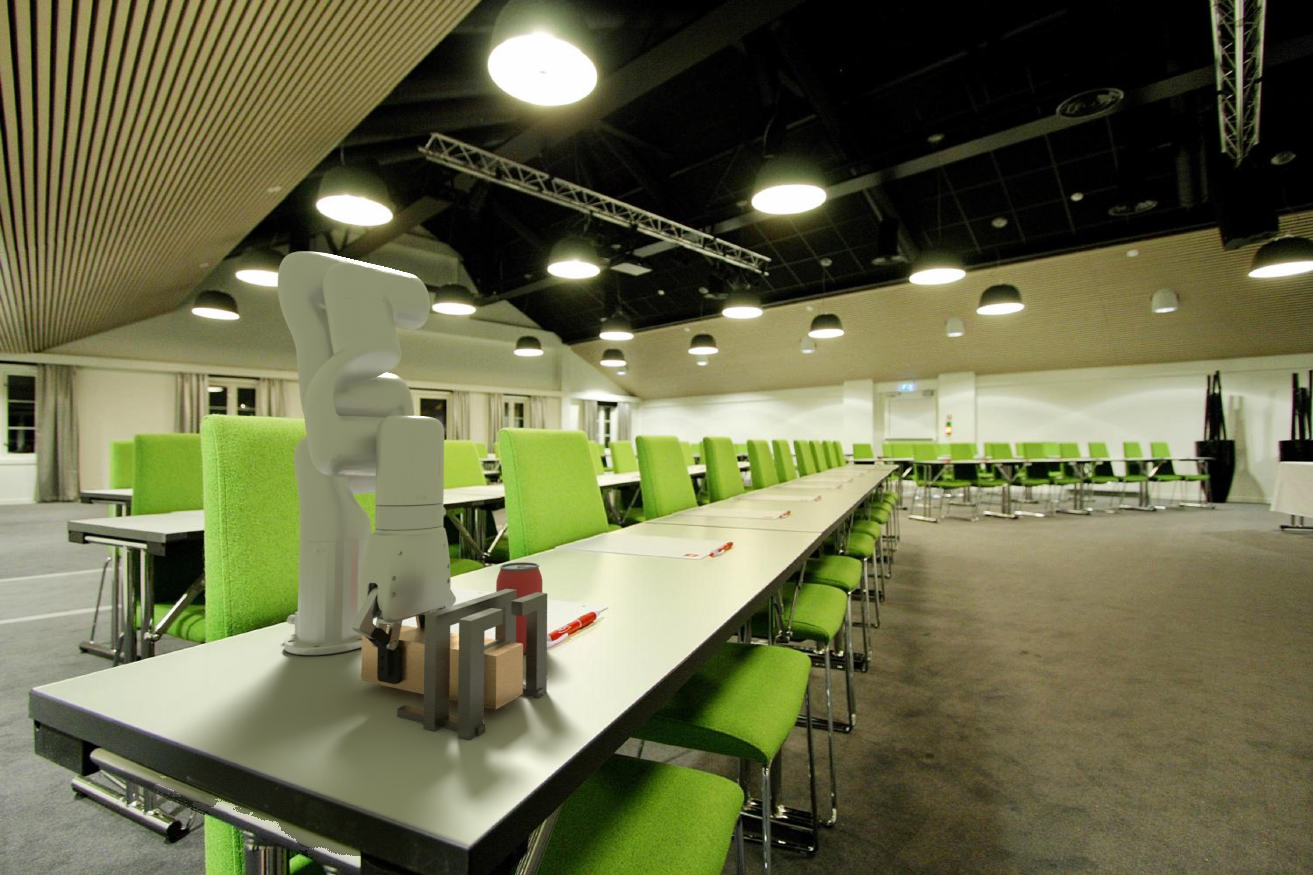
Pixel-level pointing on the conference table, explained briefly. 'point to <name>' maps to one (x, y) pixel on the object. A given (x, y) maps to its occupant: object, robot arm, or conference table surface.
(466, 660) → the gray arch posts
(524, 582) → the beer can
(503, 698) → the long brass-colored rectangular prism
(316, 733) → the conference table surface
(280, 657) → the conference table surface
